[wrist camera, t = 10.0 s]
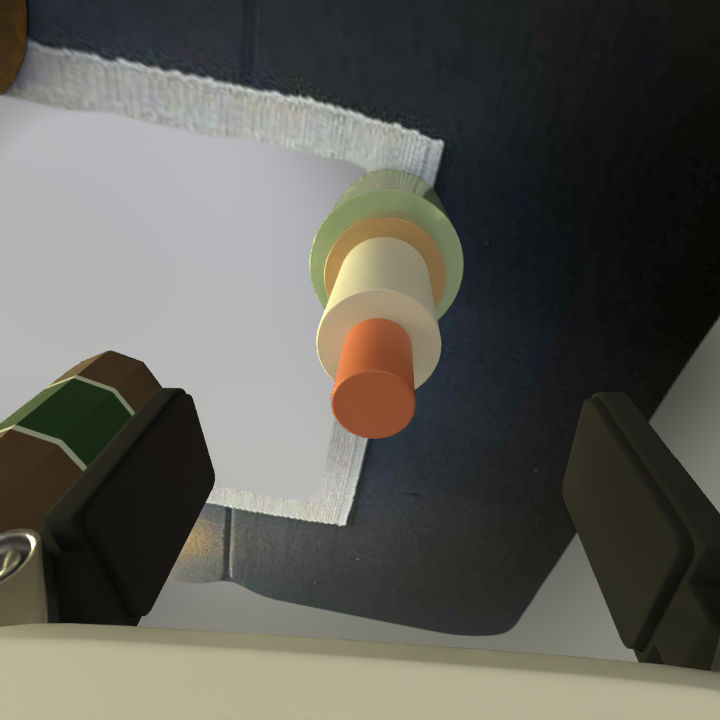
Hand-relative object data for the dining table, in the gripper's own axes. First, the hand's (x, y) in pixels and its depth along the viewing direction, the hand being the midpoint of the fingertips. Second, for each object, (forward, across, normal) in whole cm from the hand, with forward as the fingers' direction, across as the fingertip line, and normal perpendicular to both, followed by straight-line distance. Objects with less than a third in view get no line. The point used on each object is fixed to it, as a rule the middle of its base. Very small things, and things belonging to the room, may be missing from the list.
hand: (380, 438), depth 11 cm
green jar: (+23, 0, 0) cm, 23 cm away
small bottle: (+12, 0, 0) cm, 12 cm away
